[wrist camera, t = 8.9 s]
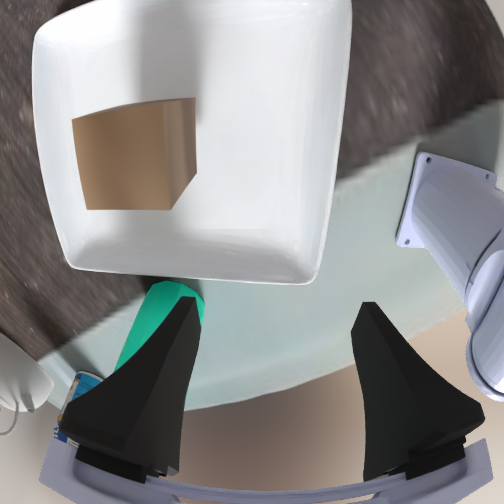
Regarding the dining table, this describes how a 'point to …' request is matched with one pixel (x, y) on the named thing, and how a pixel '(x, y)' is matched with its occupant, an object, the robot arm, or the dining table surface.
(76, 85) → the salad plate
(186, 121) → the walnut block
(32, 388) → the kettle
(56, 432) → the beverage bottle
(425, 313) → the dining table surface
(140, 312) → the candle
